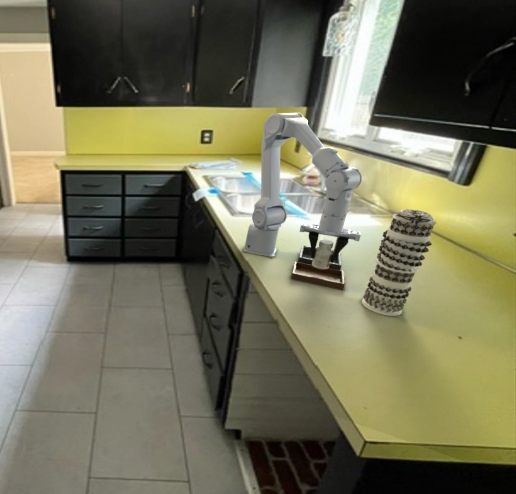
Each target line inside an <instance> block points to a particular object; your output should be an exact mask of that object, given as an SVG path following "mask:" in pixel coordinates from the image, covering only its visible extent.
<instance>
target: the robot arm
mask: <svg viewBox="0 0 516 494" xmlns="http://www.w3.org/2000/svg"><path fill="white" fill-rule="evenodd" d="M308 122H309V121H308V119H307V118H306V117H304V114H302V113H301V112H280V113H279V112H273V113H271V114H270V115H269V116H268V117H267V118H266V120H264V122H263V136H262V140H261V152H260V153H261V154H260V155H261V156H260V157H261V159H260V160H261V164H260V165H261V167H260V169H261V170H260V171H261V172H260V173H261V175H260V198H259V199H258V200H257V201H256V202H255V203H254V205H253V206H254V207H253V212H252V215H251V221H252V223H250V224H249V226H248V229H247V234H246V237H245V242H244V243H245V244H244V249H243V252H244V253H249V254H255V255H260V256H265V257H270V258H274V257H275V255H276V252H277V250H278V249H277V247H276V245H277V240H278V235H279V231H280V228H281V227H282V225H283V224H284V223H285V222H286V220H287V218H288V212H287V209H286V202H285V201H284V200H283V199H282V198H281V197H280V195H281V194H280V193H281V190H280V189H281V147H282V146H283V145H284V144H285V143H286V142H287V141H288V140H289V139H292V138H293V139H294V138H295V139H296V141H298V143H300V145H301V146H303V148H304V149H305V150H306V151H307V152H308V153H309V154H311V156H312V157H311V163H312V164H313V165H314V167H315V168H316V169H317V171H319V173H320V174H321V175H322V176H323V177H324V178H325V179H324V185H325V187H326V193H325V195H326V197H325V201H324V204H323V208H322V211H321V216H320V220H319V224H312V223H311V224H310V223H301V224H300V228H299V232H300V233H308V240H309V244H310V247H311V256H310V259H314V254H315V248H317V244H318V242H319V237H320V235H323V236H328V237H335V238H336V240H335V245H334V247H333V255H332V258H331V261H330V262H331V263H335V261H336V260H335V258H336V256H337V255H338V254H339V252H341V251H342V250H343V249H344V248H346V246H347V245H348V244H349V240H352V241H355V242H360V239H361V237H362V233H361V232H360V231H354V230H350V229H347V228H344V225H345V222H346V219H347V215H348V212H349V209H350V204H351V201H352V197H353V195H354V190H355V189H357V188H359V186H360V185H361V183H362V178H363V177H362V174H361V172H360V170H359V168H357V167H351V166H349V163H348V162H345V161H344V160H343V159H342V157H341V156H340V155H339V154H338V152H339V150H337V148H333V147H331V146H328V147H327V146H326V147H325V145H324V144H323V143H322V141H321V140H320V139H319V138H318V137H317V135H316V133H315V132H314V131H313V129H312V128H311V127H310V125H309V124H308Z"/></svg>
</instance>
